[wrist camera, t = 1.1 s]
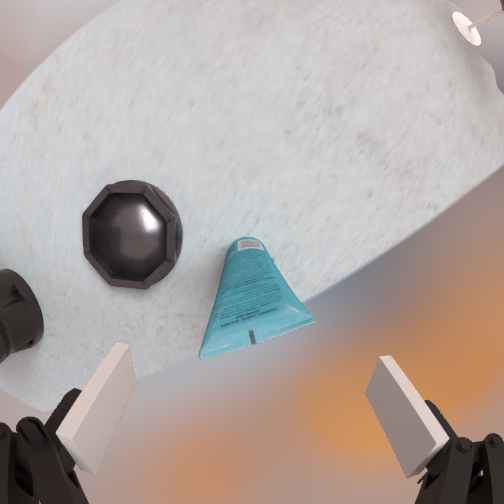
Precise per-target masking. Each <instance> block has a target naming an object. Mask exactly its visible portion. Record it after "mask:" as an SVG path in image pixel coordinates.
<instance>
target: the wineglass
mask: <svg viewBox="0 0 504 504" xmlns="http://www.w3.org/2000/svg"><path fill="white" fill-rule="evenodd" d="M500 2H501V5H502V9H501V10H499V11H497V12H495V13H493V14H490V15H488V16H486V17H485V18H482V19H480V20H478V21H476V22H474V23H471V22H470V21H469V19H468V18H466V17H465V16H464V15H463V14H461V13H459V12H454V13H453V15H452V17H453V21H454V23H455V25H456V27H457V28H458V30H459V31H460V32H461V34H462V35H463V36H464V37H465V38H466V39H467V40H468V41H469V42H470V43H472V44H473V45H476V46H479V45H480V44H481V40H480V36H479V34H478V31H477V30H476V28H475V27H476V26H478V25H480V24H482V23H484V22H486V21H488V20H490V19H492V18H495V17H497V16H499V15H501V14H504V0H500Z"/></svg>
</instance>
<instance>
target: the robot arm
mask: <svg viewBox="0 0 504 504" xmlns="http://www.w3.org/2000/svg"><path fill="white" fill-rule="evenodd" d="M42 334H43V318H42V314H41V310H40V307H39V305H38V302H37V300H36V298H35V296H34V294H33V292H32V290H31V289H30V287H29V286H28V284H27V283H26V282H25V281H24V279H23V278H22V277H21V276H20V275H18V274H17V273H16V272H14V271H12V270H9V269H3V270H1V271H0V364H1V363H2V362H3V361H4V360H5V359H6V358H7V357H8V356H9V355H10V354H12V353H15V352H18V351H22V350H25V349H28V348H31V347H32V346H34V345H35V344H36V343H37V342H38V341H39V340H40V339H41V337H42ZM135 386H136V379H135V374H134V369H133V363H132V358H131V352H130V346H129V344H124V343H119V342H116V343H115V344H114V346H113V347H112V348H111V350H110V351H109V353H108V354H107V355H106V357H105V358H104V360H103V361H102V363H101V364H100V365H99V367H98V368H97V370H96V371H95V373H94V374H93V376H92V377H91V379H90V380H89V381H88V383H87V384H86V386H85V387H84V389H83V390H79V389H76V388H74V389H72V390H71V391H69V392H68V393H66V394H65V396H64V397H63V399H62V400H61V403H59V404H58V406H57V408H56V409H55V410H54V412H53V413H52V415H51V416H50V418H49V419H48V421H47V422H46V424H45V425H43V423H42V422H41V421H40V420H39V419H38V418H35V417H25V418H22V419H21V420H20V421H19V422H18V424H17V425H16V431H17V433H15V432H12V430H11V429H10V428H9V426H8V425H6V424H5V423H2V422H1V423H0V504H39V500H40V503H41V504H89V503H88V501H87V498H86V497H85V494H84V492H83V490H82V488H81V485H80V483H79V481H78V478H77V476H76V473H75V471H74V470H73V468H74V466H75V464H77V466H78V467H79V468H80V470H82V471H85V472H87V473H90V474H93V475H96V474H97V471H98V469H99V466H100V464H101V462H102V459H103V457H104V455H105V452H106V450H107V448H108V445H109V443H110V441H111V438H112V436H113V434H114V431H115V429H116V427H117V425H118V422H119V420H120V418H121V416H122V413H123V411H124V409H125V407H126V405H127V402H128V401H129V399H130V396H131V394H132V392H133V390H134V388H135ZM365 394H366V396H367V398H368V400H369V402H370V404H371V406H372V408H373V410H374V412H375V414H376V416H377V418H378V420H379V422H380V424H381V426H382V428H383V430H384V432H385V434H386V436H387V438H388V440H389V442H390V444H391V446H392V448H393V451H394V453H395V455H396V457H397V459H398V461H399V463H400V465H401V467H402V470H403V471H404V474H405V476H406V478H409V477H412V476H415V475H417V474H420V473H421V471H422V470H423V469H424V468H425V467H426V468H427V470H428V472H426V473H425V475H424V476H423V477H422V478H421V479H420V480H419V481H418V484H419V483H420V482H421V481H422V480H423V479H424V480H423V483H422V485H421V488H420V491H419V494H418V497H417V499H416V502H415V504H504V442H503V440H502V438H501V437H500V436H499V435H498V434H495V433H492V434H488V435H487V436H486V438H485V439H484V440H483V441H480V442H472V441H470V440H469V439H467V438H465V437H458V436H457V435H456V434H455V432H454V431H453V429H452V428H451V426H450V425H449V424H448V422H447V421H446V419H444V417H443V415H442V414H441V413H440V411H439V410H438V408H437V407H436V405H434V404H433V403H432V402H430V401H429V400H425V401H424V400H423V399H422V398H421V396H420V395H419V394H418V392H417V391H416V389H415V388H414V386H412V384H411V382H410V381H409V380H408V378H407V377H406V375H405V374H404V373H403V371H402V370H401V369H400V367H399V366H398V365H397V363H396V362H395V361H394V359H393V358H392V357H391V356H380V357H379V358H378V361H377V364H376V367H375V369H374V372H373V374H372V377H371V379H370V382H369V385H368V387H367V389H366V392H365ZM482 470H483V475H482V476H481V473H480V472H481V471H482Z"/></svg>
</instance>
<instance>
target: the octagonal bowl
mask: <svg viewBox="0 0 504 504" xmlns="http://www.w3.org/2000/svg"><path fill="white" fill-rule="evenodd" d="M82 226H83V247H84V255H85V257H86V258H87V259H88V261H89V262H90V263H91V264H92V266H93V267H94V268H95V269H96V270H97V271H98V273H99V274H100V275H101V276H102V277H103V278H104V280H105V281H106V282H107V283H108V284H109V285H111V286H118V287H126V288H135V289H143V290H146V289H148V288H149V287H150V286H151V285H152V284H155V283H157V282H158V281H160V280H161V279H163V278H164V277H165V276H166V275H167V274H168V273H169V272H170V271H171V270H172V268H173V267H174V265H175V264H176V262H177V260H178V258H179V255H180V252H181V248H182V242H183V230H182V223H181V220H180V216H179V214H178V212H177V209H176V207H175V206H174V204H173V202H172V201H171V200H170V199H169V197H168V196H167V195H166V194H165V193H164V192H163V191H161V190H160V189H159V188H157V187H155V186H154V185H152V184H149V183H147V182H143V181H138V180H126V181H120V182H117V183H114V184H108V185H106V186H105V187H104V188H103V190H102V191H101V192H100V193H99V194H98V196H97V197H96V198H95V199H94V200H93V202H92V203H91V204H90V205H89V207H88V208H87V209H86V210H85V212H84V213H83V215H82Z"/></svg>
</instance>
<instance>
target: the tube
mask: <svg viewBox="0 0 504 504" xmlns="http://www.w3.org/2000/svg"><path fill="white" fill-rule="evenodd" d="M314 322H315V320H314V318H313V317H312V315H311V314H310V312H309V311H308V310H307V309H306V308H305V307H304V306H303V304H302V303H301V302H300V301H299V299H298V298H297V297H296V295H295V294H294V293H293V291H292V290H291V288H290V287H289V285H288V284H287V283H286V281H285V279H284V278H283V276H282V275H281V273H280V271H279V270H278V268H277V267H276V265H275V263H274V262H273V260H272V258H271V257H270V255H269V253H268V252H267V250H266V248H265V246H264V245H263V244H262V243H261V242H260V241H259V240H257V239H255V238H252V237H243V238H240V239H238V240H236V241H235V242H234V243H233V244H232V245H231V246H230V248H229V250H228V254H227V258H226V262H225V266H224V270H223V273H222V277H221V281H220V285H219V288H218V292H217V295H216V299H215V303H214V306H213V309H212V312H211V316H210V319H209V322H208V326H207V329H206V332H205V335H204V338H203V342H202V345H201V348H200V352H199V358H200V360H202V359H206V358H210V357H214V356H218V355H222V354H225V353H229V352H232V351H236V350H239V349H242V348H245V347H248V346H251V345H255V344H258V343H261V342H264V341H267V340H270V339H273V338H276V337H279V336H281V335H284V334H286V333H288V332H291V331H293V330H295V329H298V328H301V327H303V326H306V325H308V324H311V323H314Z"/></svg>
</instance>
